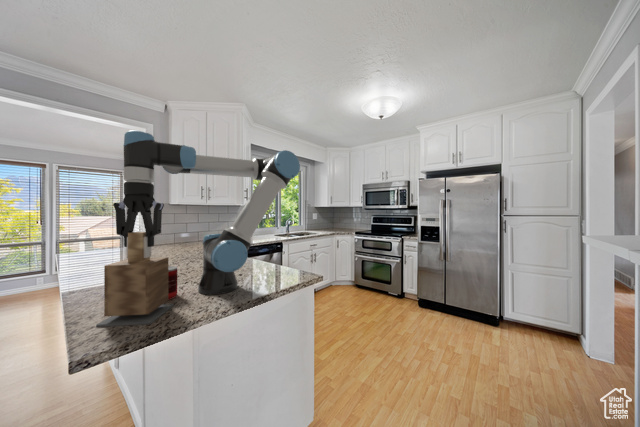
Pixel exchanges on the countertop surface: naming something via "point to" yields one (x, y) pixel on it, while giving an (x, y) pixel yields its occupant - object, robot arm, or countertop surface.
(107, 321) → the mat
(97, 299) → the countertop surface
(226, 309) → the countertop surface
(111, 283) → the wooden stepped block
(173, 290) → the canned food
